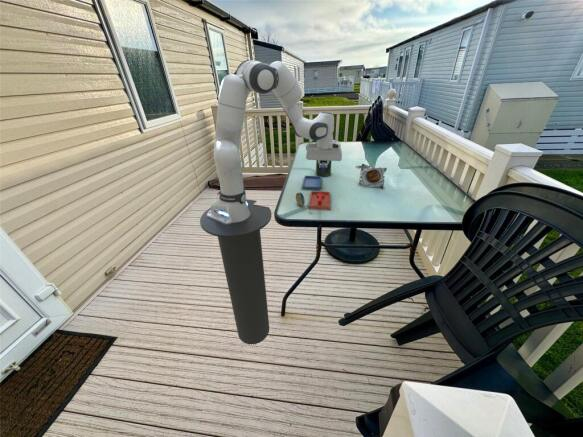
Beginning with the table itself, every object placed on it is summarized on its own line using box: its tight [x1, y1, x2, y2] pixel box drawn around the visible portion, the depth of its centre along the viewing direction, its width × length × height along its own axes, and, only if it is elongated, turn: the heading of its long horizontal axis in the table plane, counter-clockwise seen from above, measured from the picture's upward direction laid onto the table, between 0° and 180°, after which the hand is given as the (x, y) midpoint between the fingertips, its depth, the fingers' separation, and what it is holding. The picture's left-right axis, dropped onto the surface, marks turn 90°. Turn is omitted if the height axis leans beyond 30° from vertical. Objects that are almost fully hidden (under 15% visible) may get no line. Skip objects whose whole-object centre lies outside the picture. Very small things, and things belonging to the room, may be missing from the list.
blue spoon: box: [320, 162, 326, 173], centre depth 144 cm, size 13×4×3 cm, turn 171°
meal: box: [358, 163, 388, 189], centre depth 152 cm, size 15×4×13 cm, turn 68°
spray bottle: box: [315, 160, 332, 178], centre depth 167 cm, size 10×10×25 cm
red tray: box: [308, 190, 331, 211], centre depth 138 cm, size 18×11×2 cm, turn 172°
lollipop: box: [295, 191, 312, 214], centre depth 131 cm, size 7×1×15 cm
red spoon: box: [317, 193, 324, 206], centre depth 137 cm, size 13×4×3 cm, turn 172°
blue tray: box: [301, 175, 322, 191], centre depth 159 cm, size 18×11×2 cm, turn 172°
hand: (323, 167), depth 142 cm, fingers closed on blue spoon, 2 cm apart
